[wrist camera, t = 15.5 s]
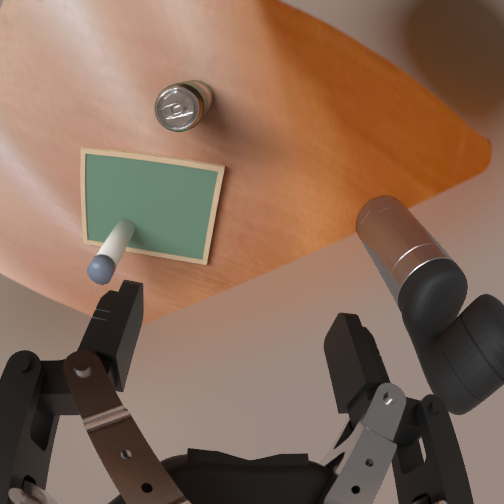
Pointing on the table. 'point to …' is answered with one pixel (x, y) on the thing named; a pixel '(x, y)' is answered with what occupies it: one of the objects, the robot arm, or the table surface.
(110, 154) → the slate
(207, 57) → the table surface
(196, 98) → the soda can
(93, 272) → the marker
